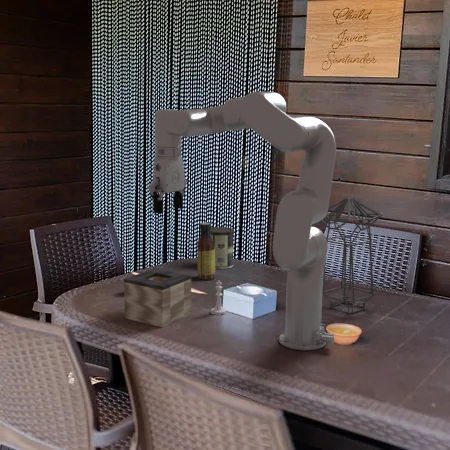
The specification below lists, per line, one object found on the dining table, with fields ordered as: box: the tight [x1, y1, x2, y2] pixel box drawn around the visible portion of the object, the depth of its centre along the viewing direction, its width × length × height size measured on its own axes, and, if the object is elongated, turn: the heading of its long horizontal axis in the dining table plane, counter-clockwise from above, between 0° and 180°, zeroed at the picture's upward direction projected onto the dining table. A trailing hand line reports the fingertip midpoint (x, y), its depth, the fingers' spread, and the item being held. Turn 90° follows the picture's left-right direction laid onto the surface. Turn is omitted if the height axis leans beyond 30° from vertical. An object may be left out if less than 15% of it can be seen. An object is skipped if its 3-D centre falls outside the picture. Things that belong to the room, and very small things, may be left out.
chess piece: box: [210, 279, 227, 316], centre depth 207 cm, size 5×5×10 cm
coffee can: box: [210, 226, 235, 270], centre depth 260 cm, size 10×10×14 cm
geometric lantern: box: [320, 196, 384, 315], centre depth 211 cm, size 16×16×35 cm
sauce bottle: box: [196, 221, 216, 281], centre depth 243 cm, size 6×6×20 cm
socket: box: [123, 268, 192, 328], centre depth 203 cm, size 14×14×12 cm
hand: (168, 210), depth 202 cm, fingers open, 9 cm apart
